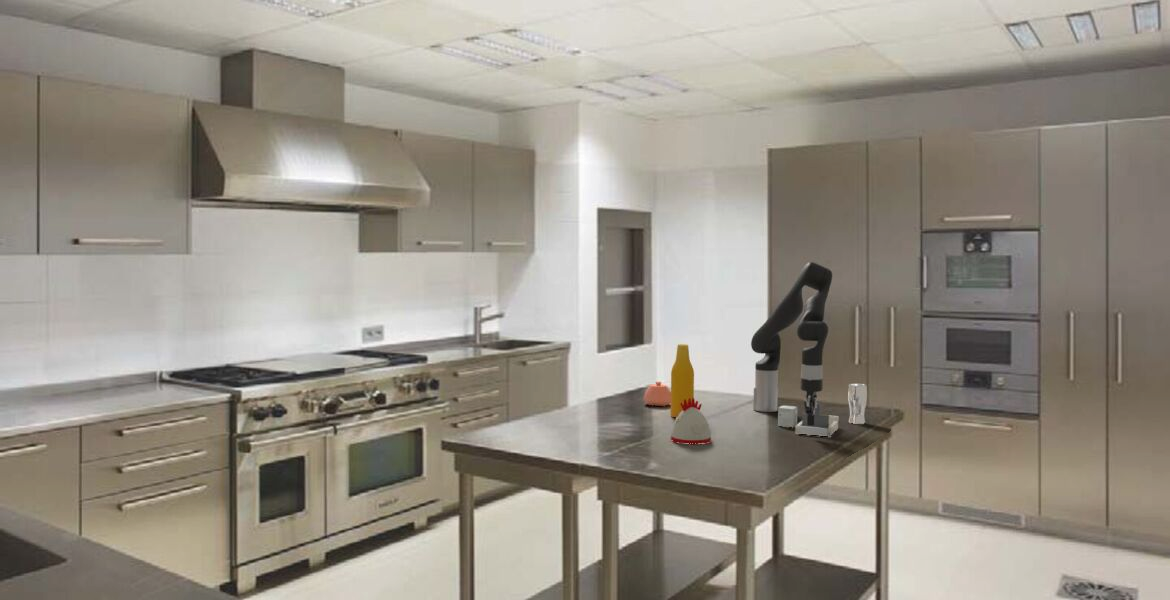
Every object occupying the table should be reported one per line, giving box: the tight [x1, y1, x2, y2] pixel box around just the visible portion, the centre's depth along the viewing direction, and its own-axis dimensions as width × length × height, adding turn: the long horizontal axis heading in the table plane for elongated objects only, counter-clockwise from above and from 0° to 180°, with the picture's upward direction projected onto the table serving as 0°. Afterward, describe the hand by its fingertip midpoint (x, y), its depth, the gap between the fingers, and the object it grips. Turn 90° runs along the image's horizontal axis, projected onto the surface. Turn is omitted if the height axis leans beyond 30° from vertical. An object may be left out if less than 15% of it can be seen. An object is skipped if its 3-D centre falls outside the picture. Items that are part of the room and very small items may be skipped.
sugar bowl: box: [643, 381, 671, 407], centre depth 368 cm, size 12×14×10 cm
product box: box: [777, 405, 798, 429], centre depth 325 cm, size 6×6×7 cm
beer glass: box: [847, 382, 868, 425], centre depth 331 cm, size 7×7×15 cm
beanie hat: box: [670, 398, 712, 444], centre depth 298 cm, size 14×14×15 cm
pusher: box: [801, 402, 829, 428], centre depth 312 cm, size 9×1×10 cm, turn 65°
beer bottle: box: [670, 343, 695, 418], centre depth 341 cm, size 9×9×29 cm
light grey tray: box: [794, 414, 840, 438], centre depth 315 cm, size 12×18×5 cm
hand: (810, 425), depth 303 cm, fingers closed
